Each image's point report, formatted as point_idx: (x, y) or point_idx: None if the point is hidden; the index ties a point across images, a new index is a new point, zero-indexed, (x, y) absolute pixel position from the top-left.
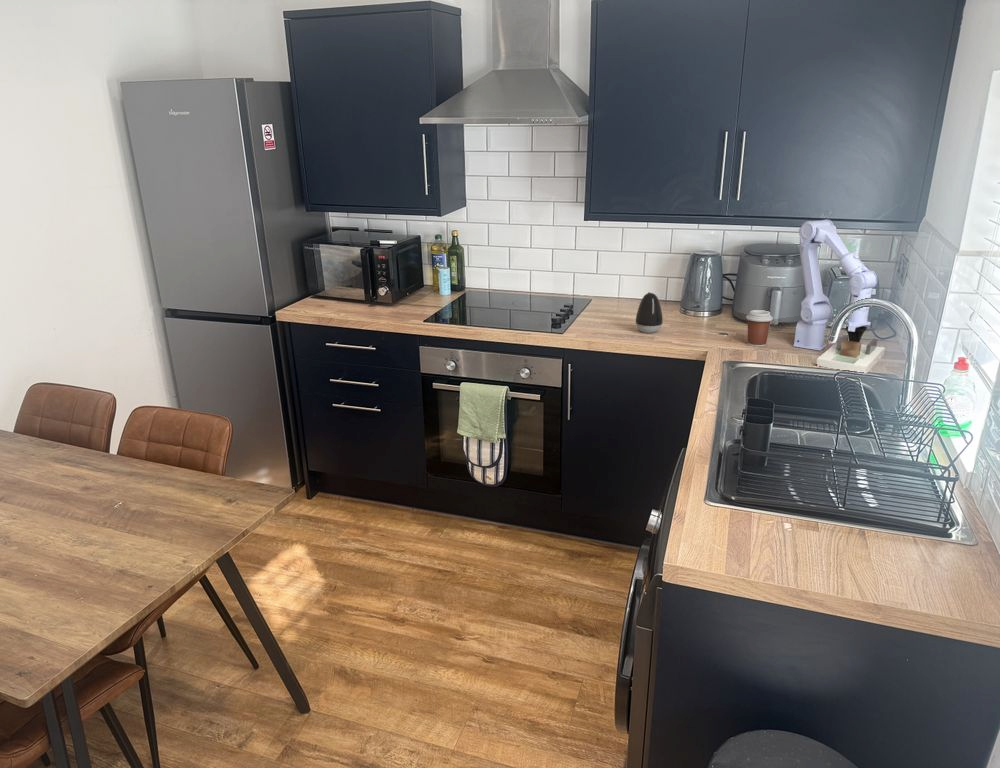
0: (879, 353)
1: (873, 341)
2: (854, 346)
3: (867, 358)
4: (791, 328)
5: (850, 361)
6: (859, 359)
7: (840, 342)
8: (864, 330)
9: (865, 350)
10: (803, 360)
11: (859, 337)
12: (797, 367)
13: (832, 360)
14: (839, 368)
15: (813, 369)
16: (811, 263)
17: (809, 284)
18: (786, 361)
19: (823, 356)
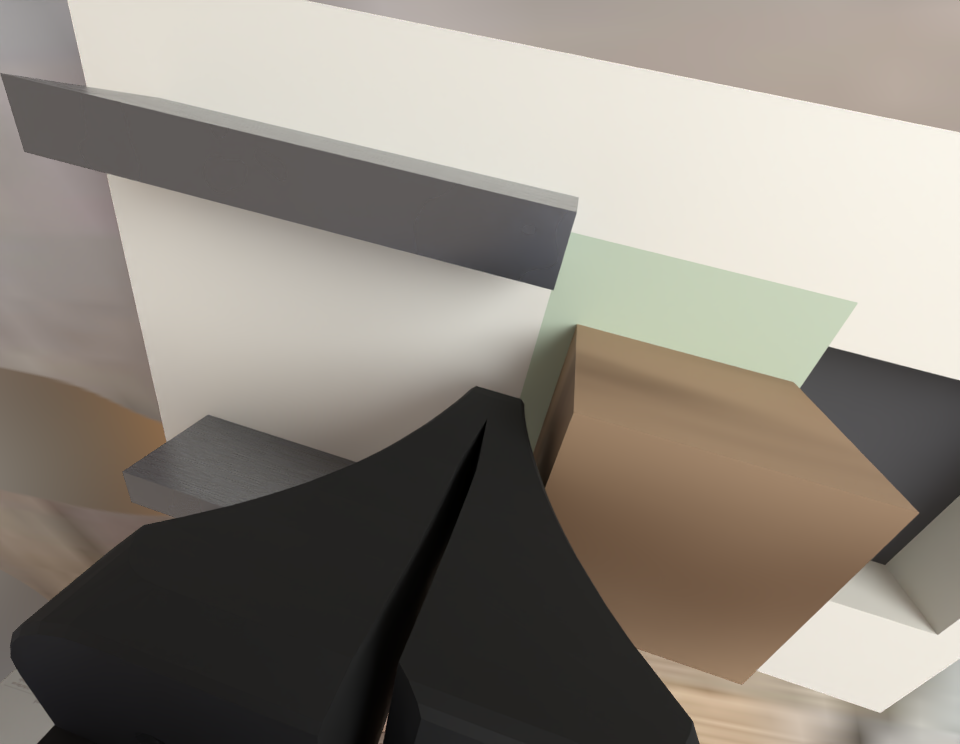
0: (417, 23)
1: (184, 153)
2: (861, 544)
3: (807, 226)
4: (45, 592)
5: None
6: (887, 346)
7: None
8: (537, 714)
9: (363, 247)
10: (672, 666)
11: (568, 541)
12: (888, 730)
13: (950, 623)
14: None
15: (954, 665)
16: None
17: None
18: (724, 741)
19: (773, 655)
